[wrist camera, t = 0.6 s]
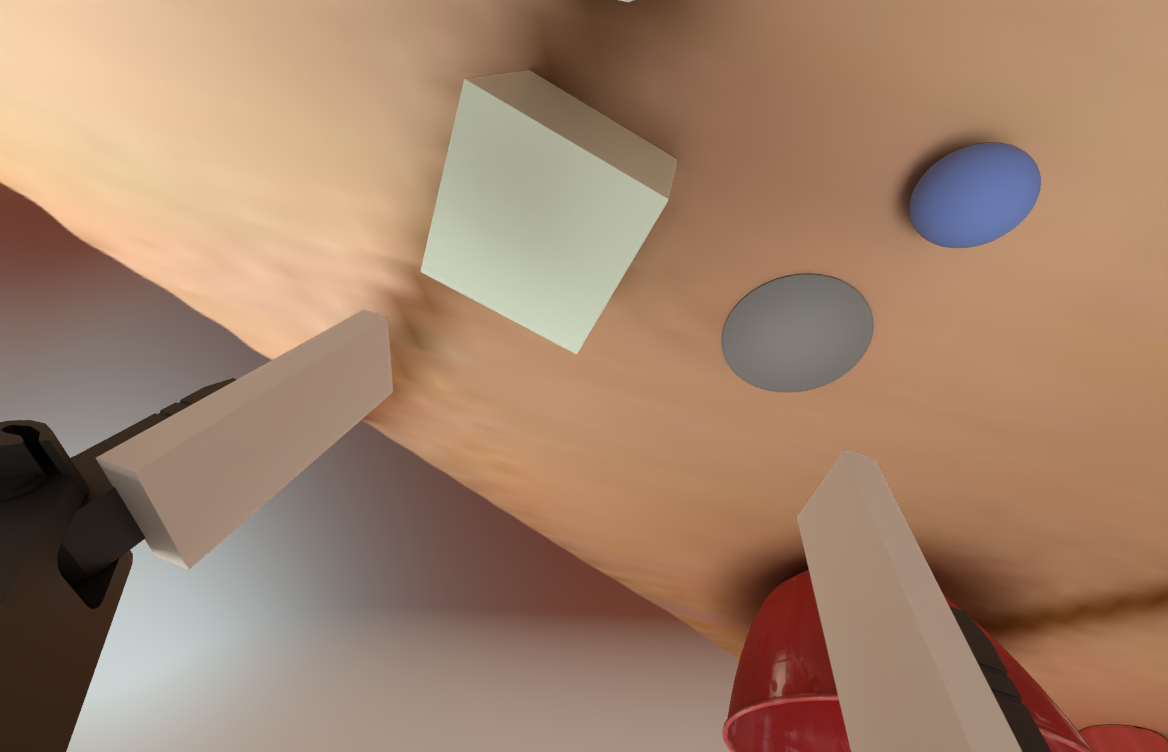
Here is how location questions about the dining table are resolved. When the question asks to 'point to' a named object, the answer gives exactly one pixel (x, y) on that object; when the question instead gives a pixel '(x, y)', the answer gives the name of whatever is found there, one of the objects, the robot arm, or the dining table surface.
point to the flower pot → (1123, 739)
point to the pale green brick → (542, 204)
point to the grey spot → (797, 333)
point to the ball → (975, 195)
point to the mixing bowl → (829, 684)
